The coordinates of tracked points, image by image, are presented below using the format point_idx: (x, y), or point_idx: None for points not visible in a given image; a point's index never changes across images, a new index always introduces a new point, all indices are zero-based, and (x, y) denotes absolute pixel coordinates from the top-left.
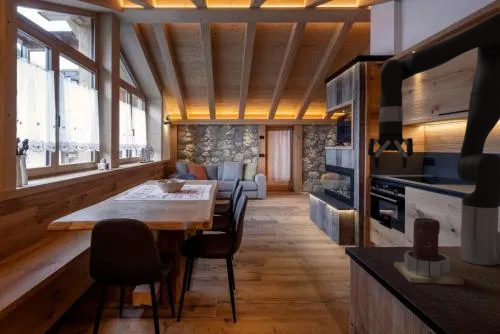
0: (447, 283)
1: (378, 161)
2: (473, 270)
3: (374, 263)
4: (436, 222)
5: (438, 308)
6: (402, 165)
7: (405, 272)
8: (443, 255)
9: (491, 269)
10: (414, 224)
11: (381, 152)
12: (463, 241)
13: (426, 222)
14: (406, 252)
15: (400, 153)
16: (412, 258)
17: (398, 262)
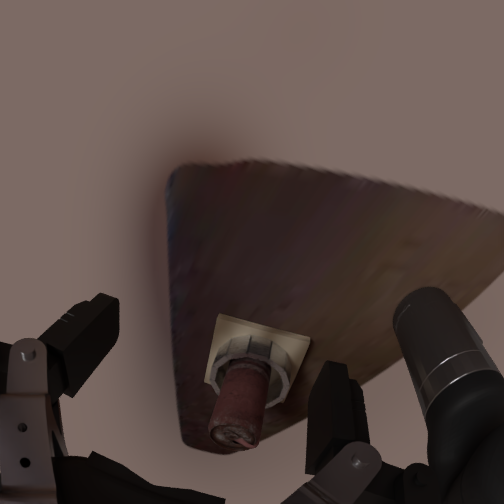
0: None
1: (84, 374)
2: (360, 357)
3: (186, 290)
4: (245, 448)
5: (199, 427)
6: (312, 407)
7: (208, 365)
8: (284, 387)
9: (397, 356)
10: (209, 423)
11: (64, 450)
12: (405, 335)
13: (221, 445)
14: (221, 360)
15: (316, 487)
16: (212, 386)
17: (224, 322)
